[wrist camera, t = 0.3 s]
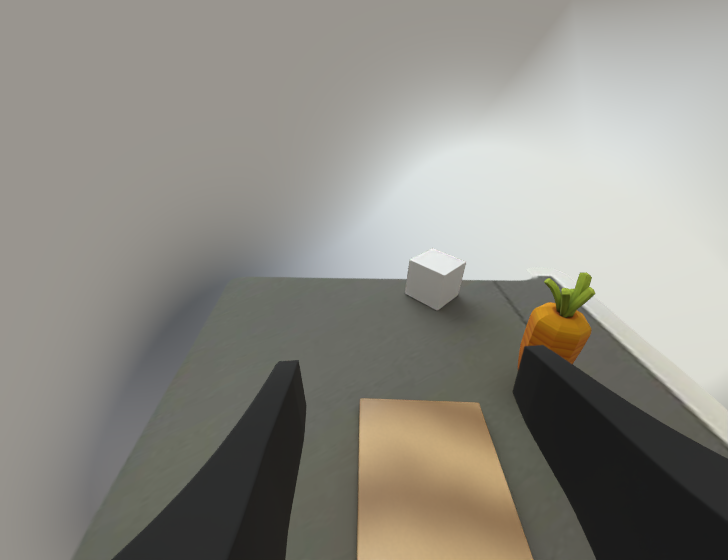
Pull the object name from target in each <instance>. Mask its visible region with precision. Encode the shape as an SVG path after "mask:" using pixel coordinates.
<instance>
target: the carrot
mask: <svg viewBox="0 0 728 560" xmlns="http://www.w3.org/2000/svg"><path fill="white" fill-rule="evenodd" d="M591 279H592V277H591V276H590V275H589V274H588V273H580V274H579V277H578V280H577V283H576V287H575V289H570V290H569V289H568V288H562V292H561V293H560V290H559V287H558V286H557V285H556V283H555V282H554V281H552V280H551V279H549V278H548V279H546V280H545V281H544V283H545V284H546V285H547V286H548V287H549V288H550V290H551V292H552V294H553V296H554V299H555V303H550V302H549V303H546V304H544V305H542V306H539V307H537V308H535V309H534V310H533V311H532V313H531V315H530V318H529V321H528V324H527V326H526V329H525V332H524V335H523V339H522V342H521V346H520V352H519V359H518V369H519V365H520V361H521V357H522V354H523V350H524V346H535V345H544V346H546V347H547V348H549V349H550V350H552V351H553V352H555V353H556V354H558V355H559V356H561V357H562V358H564V359H565V360H567V361H568V362H570V363H571V364H573V363H574V361H575V359H576V358H577V356H578V355H579V353H580V352H581V350H582V348H583V347H584V345H585V343H586V342H587V340H588V338H589V336H590V334H591V327H590V326H589V324H588V322H587V320H586V319H585V317H584V315H583V314H582V313H580V312H579V311H577V309H578V308H579V307H581V306H582V305H583V304H585V303H586V302H587V301H588V300H589V299H590V298H591V297H592V296H593V295H594V294H595V292H594V290H593V289H592V288H591V287H589V286H590V282H591Z"/></svg>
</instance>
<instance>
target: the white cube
mask: <svg viewBox="0 0 728 560" xmlns="http://www.w3.org/2000/svg"><path fill="white" fill-rule="evenodd" d="M465 265H466V262H465V261H463V260H461V259H458V258H456V257H453V256H451V255H448V254H446V253H443V252H441V251H438V250H436V249H433V248H432V249H430V250H428V251H426V252H424V253H422V254H420V255H418V256H416V257H414V258H412V259H410V261H409V268H408V275H407V282H406V289H405V294H407V295H409V296H410V297H412V298H414V299H416V300H418V301H420V302H422V303H424V304H426V305H428V306H429V307H431V308H433V309H435V310H437V311H438V310H439V309H440V308H442V307H443V306H444V305H446V304H447V303H448V302H450V301H451V300H452V299H454V298H455V297H456V296H458V294H459V290H460V286H461V281H462V277H463V273H464V269H465Z"/></svg>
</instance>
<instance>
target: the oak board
mask: <svg viewBox="0 0 728 560" xmlns="http://www.w3.org/2000/svg"><path fill="white" fill-rule="evenodd" d="M357 560H533V557H532V554H531V551H530V548H529V546H528V543H527V540H526V537H525V534H524V531H523V528H522V525H521V523H520V520H519V517H518V514H517V511H516V508H515V505H514V502H513V500H512V497H511V494H510V491H509V488H508V485H507V482H506V479H505V477H504V474H503V471H502V468H501V465H500V462H499V459H498V456H497V454H496V451H495V448H494V445H493V442H492V439H491V436H490V433H489V431H488V428H487V425H486V422H485V419H484V416H483V413H482V410H481V408H480V405H479V403H473V402H446V401H420V400H394V399H367V398H360V405H359V460H358V516H357Z"/></svg>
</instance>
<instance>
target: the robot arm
mask: <svg viewBox="0 0 728 560" xmlns="http://www.w3.org/2000/svg"><path fill="white" fill-rule="evenodd" d="M513 394H514V397H515V399H516V402H517V404H518V407H519V409H520V412H521V414H522V416H523V419H524V421H525V423H526V425H527V427H528V429H529V430H530V432H531V434H532V436H533V438H534V439H535V441H536V443H537V445H538V447H539V448H540V450H541V452H542V454H543V455H544V457H545V459H546V461H547V462H548V464H549V466H550V468H551V470H552V471H553V473H554V475H555V477H556V478H557V480H558V482H559V484H560V485H561V487H562V489H563V491H564V492H565V494H566V496H567V498H568V500H569V502H570V504H571V506H572V508H573V509H574V511H575V513H576V516H577V518H578V520H579V522H580V524H581V526H582V529H583V531H584V533H585V535H586V537H587V540H588V542H589V544H590V546H591V548H592V550H593V553H594V555H595V557H596V560H728V459H727V458H725V457H723V456H721V455H719V454H717V453H716V452H714V451H712V450H710V449H708V448H706V447H704V446H703V445H701V444H699V443H697V442H695V441H693V440H692V439H690V438H688V437H686V436H684V435H683V434H681V433H679V432H677V431H675V430H674V429H672V428H670V427H669V426H667V425H665V424H663V423H662V422H660V421H658V420H657V419H655V418H653V417H652V416H650V415H649V414H647V413H645V412H644V411H642V410H640V409H639V408H637V407H636V406H634V405H632V404H631V403H629V402H628V401H626V400H625V399H623V398H621V397H620V396H618V395H617V394H615V393H614V392H612V391H611V390H609V389H608V388H606V387H605V386H603V385H602V384H600V383H599V382H597V381H596V380H594V379H593V378H591V377H590V376H589V375H587V374H586V373H584V372H583V371H581V370H580V369H578V368H577V367H575V366H574V365H573V364H571V363H570V362H568V361H567V360H565V359H564V358H562V357H561V356H559V355H558V354H556V353H555V352H553V351H552V350H550V349H549V348H547V347H546V346H544V345H535V346H524V350H523V354H522V357H521V361H520V365H519V369H518V373H517V377H516V381H515V385H514V389H513ZM305 419H306V401H305V395H304V389H303V384H302V378H301V372H300V366H299V360H295V361H279V362H278V363H277V364H276V365H275V367H274V369H273V370H272V372H271V374H270V375H269V377H268V379H267V380H266V382H265V383H264V385H263V387H262V388H261V390H260V391H259V393H258V394H257V396H256V397H255V399H254V400H253V402H252V403H251V405H250V406H249V407H248V409H247V410H246V412H245V413H244V415H243V416H242V418H241V419H240V420H239V422H238V423H237V424H236V426H235V427H234V428H233V430H232V431H231V432H230V434H229V435H228V436H227V437H226V439H225V440H224V441H223V443H222V444H221V445H220V447H219V448H218V449H217V450H216V452H215V453H214V454H213V455H212V456H211V458H210V459H209V460H208V461H207V462H206V464H205V465H204V466H203V467H202V468H201V469H200V471H199V472H198V473H197V474H196V475H195V476H194V477H193V478H192V480H191V481H190V482H189V483H188V484H187V485H186V486H185V487H184V488H183V489H182V490H181V492H180V493H179V494H178V495H177V496H176V497H175V498H174V499H173V500H172V501H171V502H170V503H169V504H168V505H167V506H166V507H165V508H164V510H163V511H162V512H161V513H160V514H159V515H158V516H157V517H156V518H155V519H154V520H153V521H152V522H151V523H150V524H149V525H148V526H147V527H146V528H145V529H144V530H142V531H141V532H140V533H139V534H138V535H137V536H136V537H135V538H134V539H133V540H132V541H131V542H130V543H129V544H128V545H127V546H125V547H124V548H123V549H122V550H121V551H120V552H119V553H118V554H117V555H116V556H115V557H114V558H113V559H112V560H285V556H286V546H287V535H288V528H289V521H290V514H291V509H292V503H293V498H294V492H295V487H296V481H297V475H298V470H299V464H300V459H301V453H302V447H303V441H304V432H305Z"/></svg>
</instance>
